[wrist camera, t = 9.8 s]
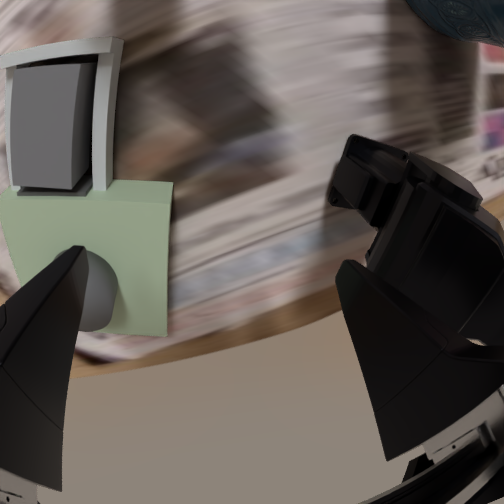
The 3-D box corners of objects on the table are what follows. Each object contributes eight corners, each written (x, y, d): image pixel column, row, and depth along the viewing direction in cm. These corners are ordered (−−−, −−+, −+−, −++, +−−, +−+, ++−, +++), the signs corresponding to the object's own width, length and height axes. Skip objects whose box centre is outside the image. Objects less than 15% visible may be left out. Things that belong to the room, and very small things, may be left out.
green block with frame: (194, 42, 15) (193, 31, 10) (167, 309, 29) (167, 363, 24) (14, 54, 11) (-39, 64, 6) (46, 300, 25) (30, 348, 20)
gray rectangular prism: (101, 62, 14) (80, 64, 11) (89, 166, 18) (71, 189, 15) (42, 65, 13) (14, 69, 9) (36, 163, 17) (12, 185, 14)
